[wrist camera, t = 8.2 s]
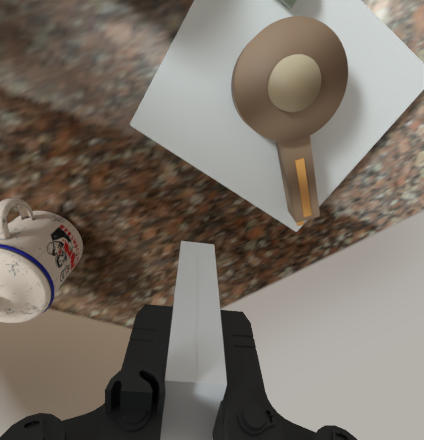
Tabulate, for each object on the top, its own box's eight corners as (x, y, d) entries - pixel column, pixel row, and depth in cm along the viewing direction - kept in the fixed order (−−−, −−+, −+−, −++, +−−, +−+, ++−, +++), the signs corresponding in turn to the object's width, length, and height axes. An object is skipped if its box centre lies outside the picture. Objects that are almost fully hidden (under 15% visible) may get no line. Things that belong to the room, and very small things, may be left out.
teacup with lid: (91, 272, 37) (45, 346, 26) (19, 270, 36) (-55, 345, 26) (76, 185, 32) (13, 233, 21) (-7, 182, 31) (-113, 230, 21)
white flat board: (132, 123, 29) (122, 127, 25) (248, -98, 22) (257, -134, 19) (292, 226, 35) (303, 242, 31) (424, 76, 28) (456, 74, 24)
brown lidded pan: (220, 45, 24) (223, 36, 20) (322, 12, 24) (350, -6, 19) (259, 218, 32) (269, 240, 27) (339, 197, 31) (362, 216, 26)
